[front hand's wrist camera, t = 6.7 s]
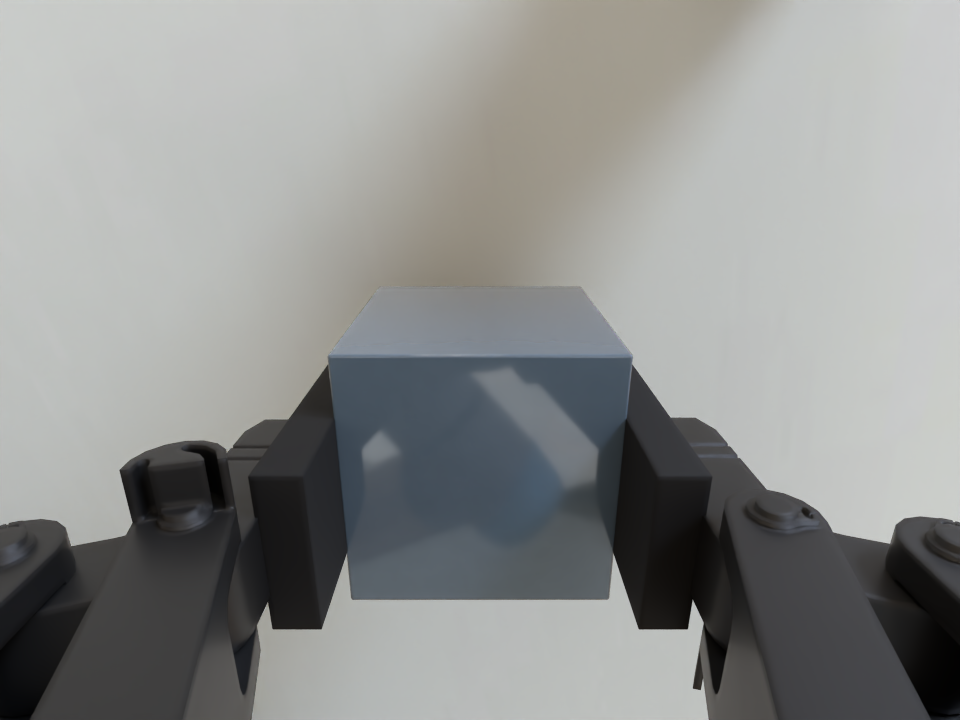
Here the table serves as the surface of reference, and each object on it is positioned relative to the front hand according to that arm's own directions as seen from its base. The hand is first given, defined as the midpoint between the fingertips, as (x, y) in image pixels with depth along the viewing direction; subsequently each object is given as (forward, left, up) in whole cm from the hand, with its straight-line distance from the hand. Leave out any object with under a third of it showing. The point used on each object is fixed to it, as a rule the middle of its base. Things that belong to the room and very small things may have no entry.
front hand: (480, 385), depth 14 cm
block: (0, 0, 0) cm, 0 cm away
